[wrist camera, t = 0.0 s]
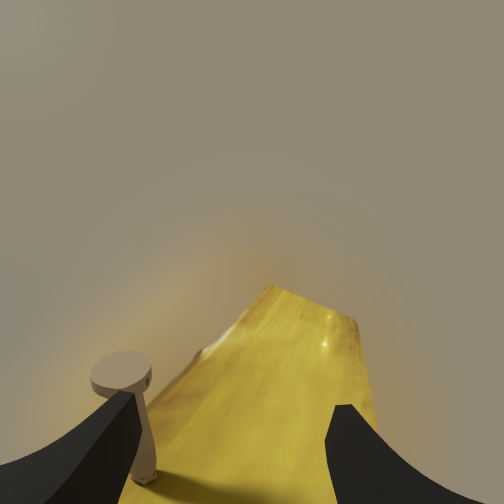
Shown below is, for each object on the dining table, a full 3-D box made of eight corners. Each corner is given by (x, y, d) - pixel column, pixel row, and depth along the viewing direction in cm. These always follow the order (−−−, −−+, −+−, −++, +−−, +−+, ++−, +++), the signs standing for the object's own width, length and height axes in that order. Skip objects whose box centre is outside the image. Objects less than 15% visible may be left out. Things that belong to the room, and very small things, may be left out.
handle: (172, 462, 30) (160, 356, 27) (154, 501, 23) (130, 394, 21) (134, 452, 30) (114, 346, 27) (112, 487, 24) (78, 379, 21)
